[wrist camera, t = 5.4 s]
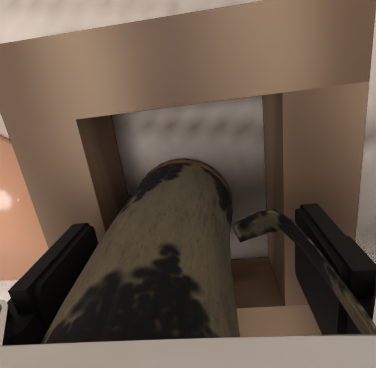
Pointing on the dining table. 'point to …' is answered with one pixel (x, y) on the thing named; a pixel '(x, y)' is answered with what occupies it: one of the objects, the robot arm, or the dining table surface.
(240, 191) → the dining table surface
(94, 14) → the dining table surface
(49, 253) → the robot arm
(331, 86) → the frame
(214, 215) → the mug
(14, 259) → the peach smooth round part
